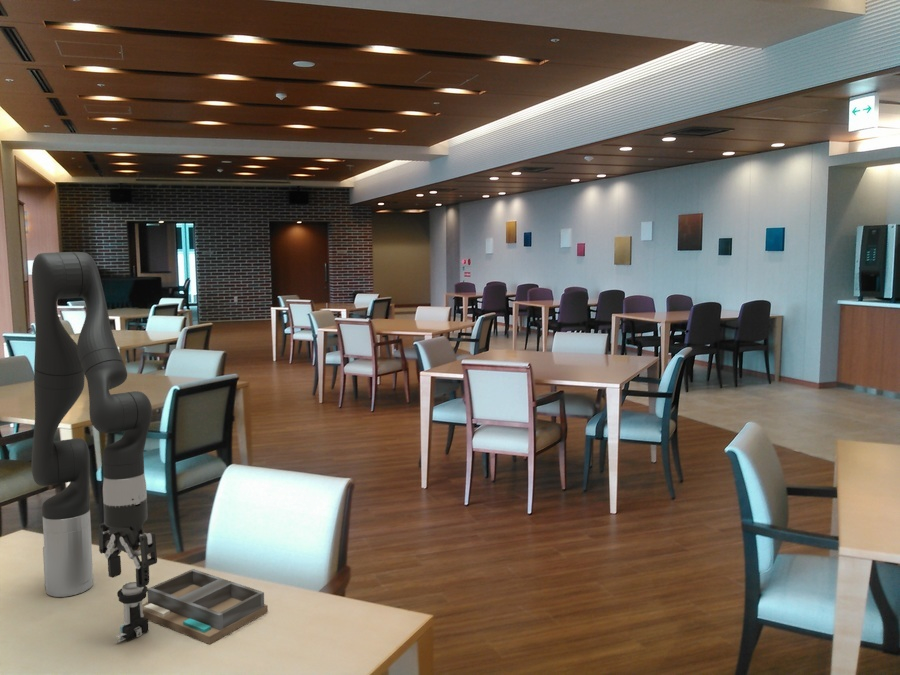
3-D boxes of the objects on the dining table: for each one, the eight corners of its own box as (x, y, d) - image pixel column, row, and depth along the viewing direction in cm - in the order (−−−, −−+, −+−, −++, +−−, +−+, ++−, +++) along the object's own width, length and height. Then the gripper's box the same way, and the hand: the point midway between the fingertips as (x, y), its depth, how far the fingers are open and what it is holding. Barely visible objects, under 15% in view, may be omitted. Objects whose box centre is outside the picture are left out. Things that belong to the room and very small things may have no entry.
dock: (135, 614, 148) (135, 593, 147) (195, 587, 160) (195, 567, 160) (209, 644, 136) (208, 621, 136) (267, 612, 149) (267, 591, 149)
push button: (125, 648, 135) (123, 597, 134) (106, 641, 137) (104, 590, 136) (155, 632, 141) (153, 583, 140) (136, 625, 143) (134, 577, 142)
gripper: (83, 497, 137) (87, 580, 138) (130, 509, 129) (134, 597, 131) (119, 487, 143) (123, 566, 144) (166, 498, 136) (169, 582, 137)
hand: (128, 580), depth 138 cm, fingers open, 8 cm apart
